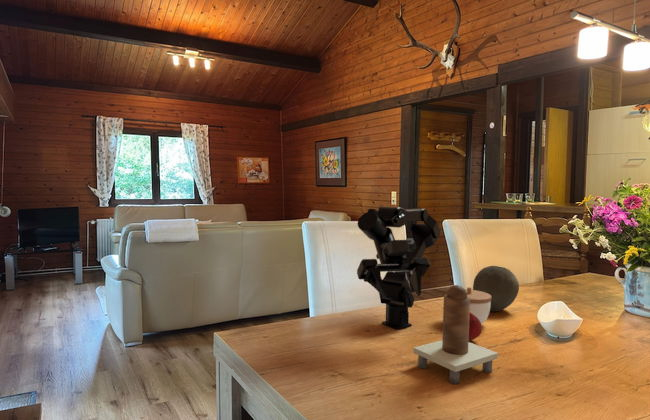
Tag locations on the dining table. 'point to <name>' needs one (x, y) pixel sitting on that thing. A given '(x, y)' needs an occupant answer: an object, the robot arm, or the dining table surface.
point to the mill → (456, 321)
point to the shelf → (455, 358)
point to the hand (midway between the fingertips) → (402, 296)
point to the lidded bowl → (479, 303)
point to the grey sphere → (497, 286)
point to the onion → (474, 327)
